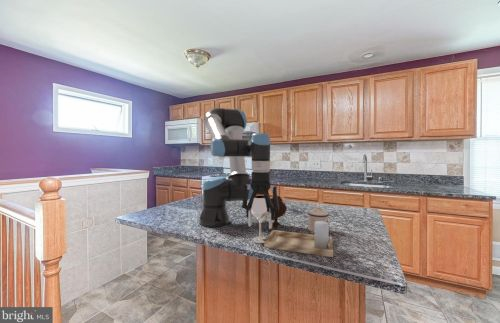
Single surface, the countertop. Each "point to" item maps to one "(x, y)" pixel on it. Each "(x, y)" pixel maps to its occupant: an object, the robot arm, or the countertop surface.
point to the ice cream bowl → (279, 211)
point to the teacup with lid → (316, 217)
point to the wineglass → (259, 214)
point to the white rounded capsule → (321, 234)
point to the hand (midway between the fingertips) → (260, 226)
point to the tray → (296, 243)
